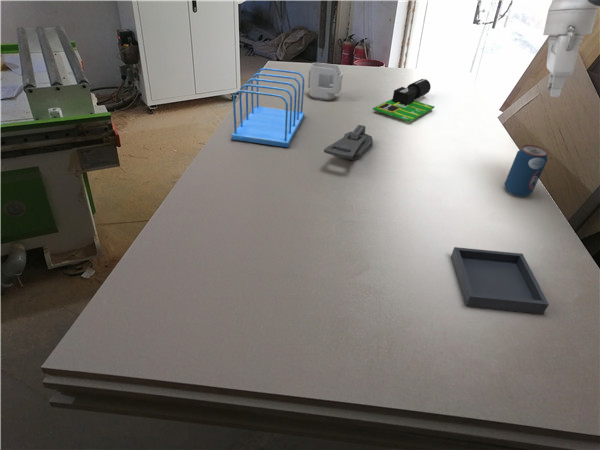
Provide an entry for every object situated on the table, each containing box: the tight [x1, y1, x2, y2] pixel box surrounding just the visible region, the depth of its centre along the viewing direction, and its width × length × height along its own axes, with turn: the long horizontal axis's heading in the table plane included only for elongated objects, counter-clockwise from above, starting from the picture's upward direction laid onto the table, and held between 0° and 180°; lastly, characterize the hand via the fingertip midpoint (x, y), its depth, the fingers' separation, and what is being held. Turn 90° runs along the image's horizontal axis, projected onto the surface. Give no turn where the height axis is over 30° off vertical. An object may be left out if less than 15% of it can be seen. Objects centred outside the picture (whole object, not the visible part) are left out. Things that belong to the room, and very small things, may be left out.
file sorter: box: [231, 67, 305, 148], centre depth 126 cm, size 25×17×15 cm
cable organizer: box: [307, 62, 344, 102], centre depth 151 cm, size 7×12×12 cm, turn 75°
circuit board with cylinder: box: [372, 78, 435, 123], centre depth 148 cm, size 30×7×15 cm
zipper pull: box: [323, 124, 374, 161], centre depth 115 cm, size 9×7×25 cm
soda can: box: [503, 144, 548, 198], centre depth 102 cm, size 7×7×12 cm
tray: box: [450, 246, 550, 315], centre depth 77 cm, size 14×14×3 cm
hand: (552, 93), depth 91 cm, fingers open, 8 cm apart
